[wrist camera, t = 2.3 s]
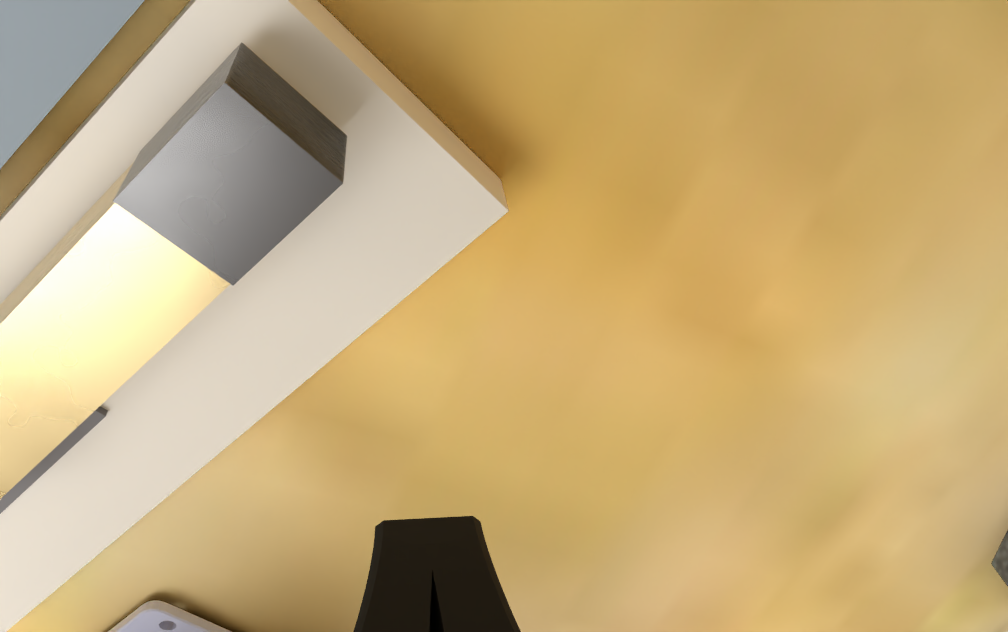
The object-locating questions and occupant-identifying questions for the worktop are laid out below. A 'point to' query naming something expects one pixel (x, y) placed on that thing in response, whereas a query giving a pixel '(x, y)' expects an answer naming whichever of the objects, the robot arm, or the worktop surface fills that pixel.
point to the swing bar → (159, 250)
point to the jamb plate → (256, 296)
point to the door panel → (48, 56)
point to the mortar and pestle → (1002, 560)
